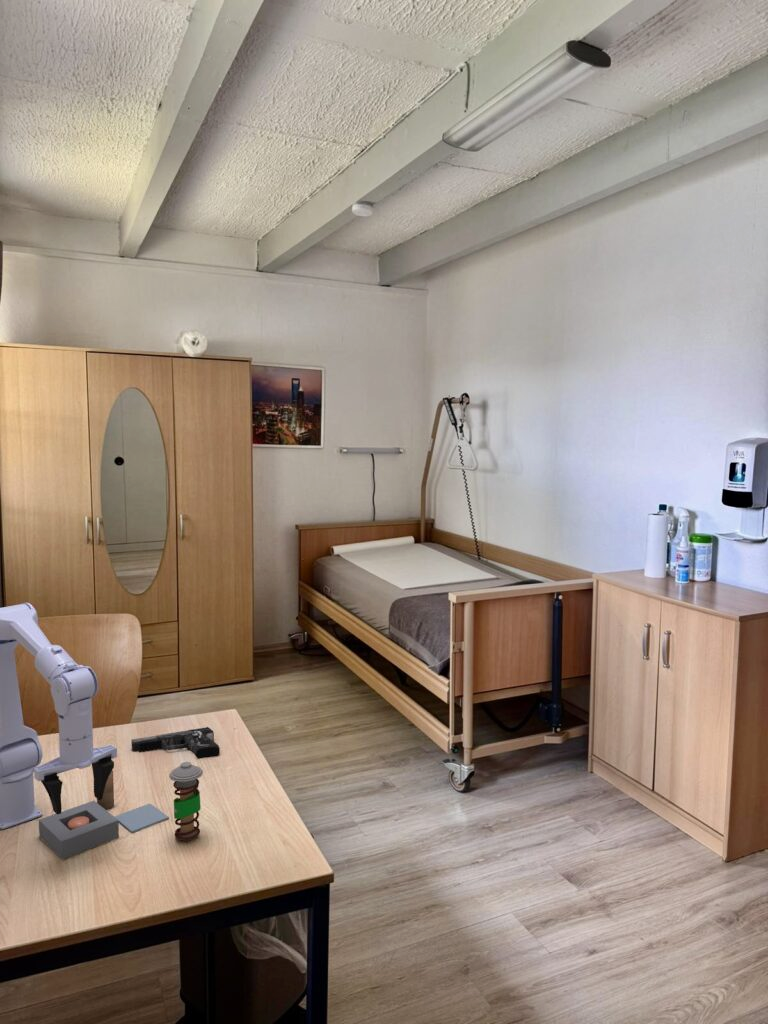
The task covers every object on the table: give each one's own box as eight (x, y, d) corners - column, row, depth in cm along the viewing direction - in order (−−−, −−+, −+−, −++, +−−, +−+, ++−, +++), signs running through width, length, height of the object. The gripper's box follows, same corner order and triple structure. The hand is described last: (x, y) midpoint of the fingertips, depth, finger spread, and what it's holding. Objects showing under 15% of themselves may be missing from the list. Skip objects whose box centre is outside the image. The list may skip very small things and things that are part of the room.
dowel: (94, 806, 156) (93, 772, 155) (109, 801, 158) (108, 767, 158) (101, 812, 154) (100, 777, 153) (116, 806, 156) (115, 772, 155)
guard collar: (39, 836, 144) (38, 819, 144) (94, 816, 152) (93, 800, 152) (62, 859, 136) (61, 841, 136) (118, 837, 144) (118, 820, 144)
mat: (113, 818, 151) (113, 816, 151) (150, 805, 157) (149, 803, 157) (132, 833, 146) (132, 831, 146) (168, 818, 151) (168, 816, 151)
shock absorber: (169, 832, 146) (167, 759, 145) (201, 826, 148) (200, 755, 147) (172, 849, 140) (170, 773, 139) (206, 842, 142) (204, 768, 141)
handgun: (135, 758, 174) (130, 735, 186) (135, 772, 174) (131, 747, 187) (220, 744, 181) (210, 723, 194) (220, 758, 182) (211, 735, 194)
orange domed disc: (65, 827, 144) (64, 821, 144) (84, 820, 147) (84, 814, 146) (73, 834, 141) (72, 828, 141) (92, 827, 144) (92, 821, 144)
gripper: (43, 752, 128) (46, 827, 129) (123, 730, 138) (125, 799, 139) (28, 740, 133) (31, 812, 134) (107, 719, 143) (108, 786, 144)
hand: (78, 804), depth 137 cm, fingers open, 7 cm apart
